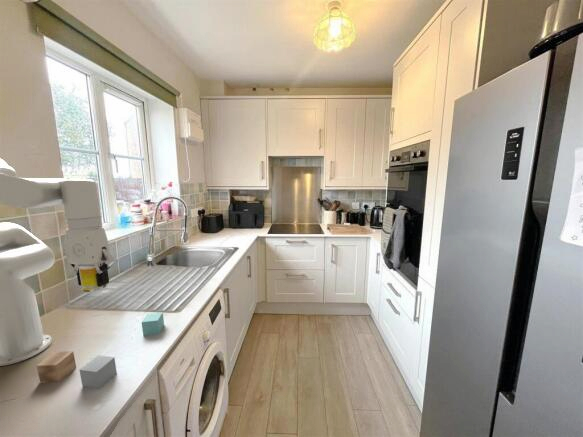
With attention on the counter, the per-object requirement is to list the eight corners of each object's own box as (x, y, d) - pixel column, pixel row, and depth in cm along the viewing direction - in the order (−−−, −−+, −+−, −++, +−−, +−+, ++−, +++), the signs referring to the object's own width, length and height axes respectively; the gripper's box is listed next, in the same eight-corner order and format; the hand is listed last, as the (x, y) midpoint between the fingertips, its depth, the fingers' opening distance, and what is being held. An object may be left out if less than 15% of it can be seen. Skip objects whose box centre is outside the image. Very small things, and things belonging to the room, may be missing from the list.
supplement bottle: (108, 289, 71) (104, 256, 69) (84, 296, 67) (78, 261, 65) (104, 284, 75) (100, 252, 73) (81, 290, 71) (76, 257, 69)
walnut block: (40, 382, 62) (36, 365, 62) (58, 367, 67) (55, 351, 67) (59, 382, 62) (56, 365, 62) (76, 367, 67) (73, 351, 67)
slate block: (82, 387, 61) (79, 369, 60) (101, 371, 66) (98, 355, 65) (99, 389, 60) (96, 371, 59) (116, 373, 65) (114, 357, 64)
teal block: (143, 335, 81) (141, 322, 80) (149, 326, 85) (147, 314, 85) (159, 333, 82) (157, 320, 81) (164, 325, 86) (162, 312, 86)
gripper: (44, 225, 65) (55, 288, 68) (98, 226, 63) (108, 292, 65) (73, 220, 73) (82, 277, 75) (123, 221, 70) (130, 280, 73)
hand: (94, 283), depth 70 cm, fingers closed on supplement bottle, 5 cm apart
